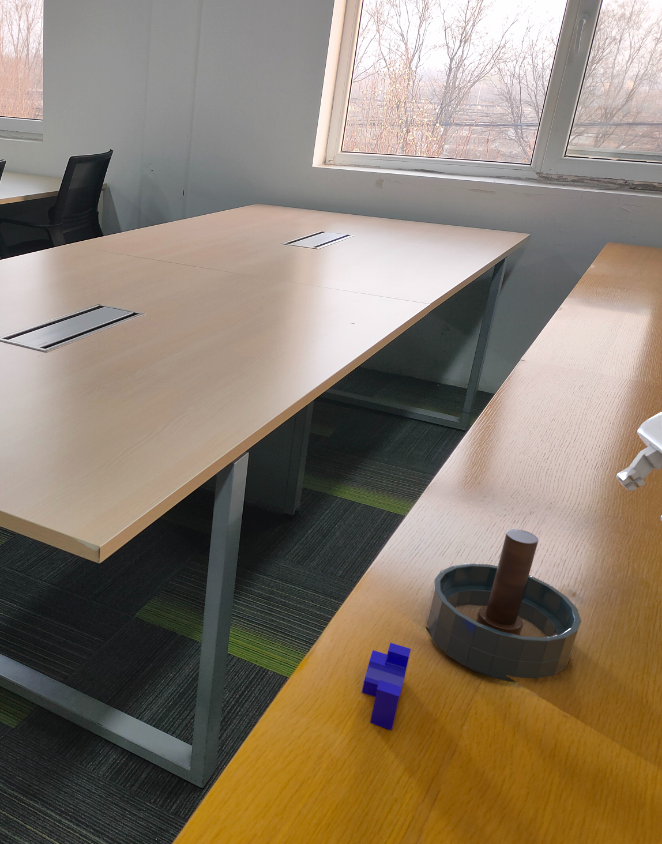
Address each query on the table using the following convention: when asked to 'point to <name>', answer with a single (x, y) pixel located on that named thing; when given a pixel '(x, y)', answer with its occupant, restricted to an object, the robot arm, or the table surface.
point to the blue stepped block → (386, 683)
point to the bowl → (493, 647)
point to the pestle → (510, 583)
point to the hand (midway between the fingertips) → (643, 504)
